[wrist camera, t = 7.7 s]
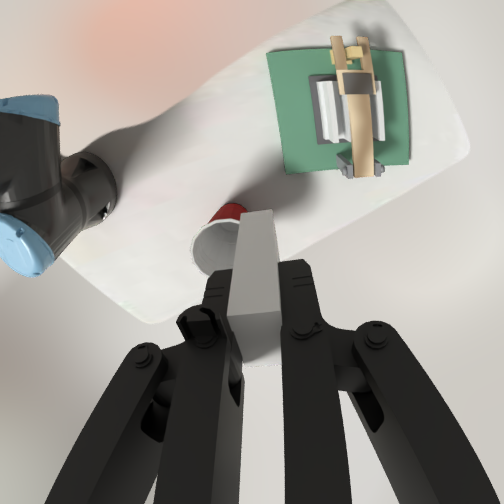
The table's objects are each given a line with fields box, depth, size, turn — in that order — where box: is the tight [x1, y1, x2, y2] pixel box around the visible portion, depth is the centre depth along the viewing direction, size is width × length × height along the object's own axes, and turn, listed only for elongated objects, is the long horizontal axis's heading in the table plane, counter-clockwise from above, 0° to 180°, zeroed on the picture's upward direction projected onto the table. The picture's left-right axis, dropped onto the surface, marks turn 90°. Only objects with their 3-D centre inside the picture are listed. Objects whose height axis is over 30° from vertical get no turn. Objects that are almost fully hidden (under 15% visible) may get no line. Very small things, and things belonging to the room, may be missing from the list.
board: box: [266, 46, 409, 179], centre depth 33 cm, size 22×20×9 cm
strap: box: [330, 36, 376, 178], centre depth 31 cm, size 5×20×1 cm, turn 10°
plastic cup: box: [190, 203, 247, 278], centre depth 44 cm, size 11×11×12 cm
